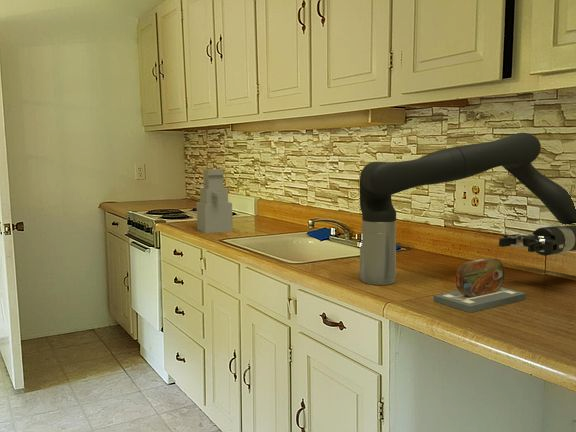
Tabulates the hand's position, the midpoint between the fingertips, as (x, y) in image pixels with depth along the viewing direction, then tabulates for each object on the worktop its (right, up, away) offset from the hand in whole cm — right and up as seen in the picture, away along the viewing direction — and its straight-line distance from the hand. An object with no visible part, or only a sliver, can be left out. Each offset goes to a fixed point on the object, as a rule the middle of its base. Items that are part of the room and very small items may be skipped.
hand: (514, 245), depth 138 cm
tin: (-11, -12, -6) cm, 17 cm away
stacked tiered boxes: (-92, +1, +113) cm, 146 cm away
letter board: (-11, -13, -6) cm, 18 cm away
